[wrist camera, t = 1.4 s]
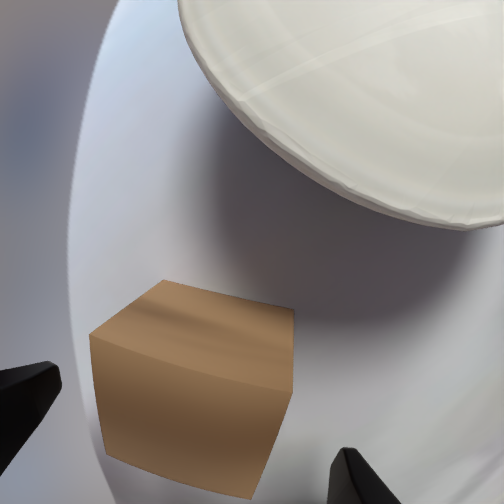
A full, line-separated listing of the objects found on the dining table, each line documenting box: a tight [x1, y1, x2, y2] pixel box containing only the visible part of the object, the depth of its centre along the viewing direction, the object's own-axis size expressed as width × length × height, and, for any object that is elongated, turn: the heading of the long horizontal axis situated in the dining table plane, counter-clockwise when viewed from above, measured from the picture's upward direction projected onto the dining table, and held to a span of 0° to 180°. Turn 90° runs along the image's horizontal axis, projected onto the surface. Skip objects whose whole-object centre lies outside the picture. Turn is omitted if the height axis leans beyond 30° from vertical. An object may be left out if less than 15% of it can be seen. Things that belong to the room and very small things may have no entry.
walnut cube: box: [89, 280, 294, 500], centre depth 9 cm, size 5×5×5 cm
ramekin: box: [177, 0, 504, 231], centre depth 6 cm, size 11×11×5 cm
